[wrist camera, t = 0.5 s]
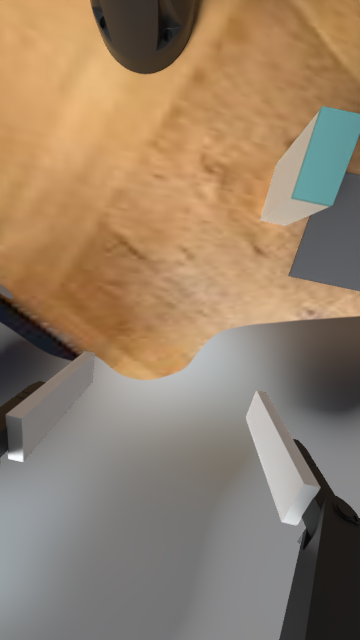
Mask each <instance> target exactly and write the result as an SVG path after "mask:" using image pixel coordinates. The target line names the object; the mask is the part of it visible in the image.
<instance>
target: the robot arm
mask: <svg viewBox="0 0 360 640" xmlns="http://www.w3.org/2000/svg"><path fill="white" fill-rule="evenodd" d="M90 2H91V6H92V10H93V14H94V17H95V20H96V23H97V26H98V28H99V31H100V33H101V36H102V38H103V41H104V43H105V45H106V47H107V49H108V50H109V52H110V53H111V55H112V56H113V57H114V58H115V59H116V60H117V61H118V62H119V63H120V64H121V65H122V66H124V67H125V68H127V69H129V70H131V71H133V72H137V73H144V74H147V73H154V72H157V71H160V70H162V69H164V68H165V67H167V66H168V65H170V64H171V63H172V62H173V61H174V60H175V59H176V58H177V57H178V55H179V54H180V53H181V51H182V50H183V48H184V47H185V45H186V43H187V41H188V38H189V36H190V33H191V30H192V26H193V22H194V17H195V8H196V0H90ZM94 359H95V353H92V352H88V351H85V352H84V353H83V354H81V355H80V356H79V357H78V358H76V359H75V360H74V361H72V362H71V363H70V364H69V365H68V366H66V367H65V368H64V369H62V370H61V371H60V372H59V373H57V374H56V375H55V376H54V377H52V378H51V379H50V380H49V381H47V382H41V381H39V382H37V383H34V384H32V385H30V386H28V387H27V388H26V389H24V390H23V391H22V392H20V393H19V394H17V395H16V396H15V397H14V398H12V399H10V400H9V401H8V402H6V403H5V404H4V405H3V406H1V407H0V457H1V456H2V455H3V454H4V453H5V452H6V451H7V450H8V458H9V459H13V460H17V461H21V462H24V461H25V460H26V458H27V457H28V456H29V455H30V454H31V453H32V451H33V450H34V449H35V448H36V447H37V446H38V445H39V443H40V442H41V441H42V440H43V439H44V438H45V437H46V435H47V434H48V433H49V432H50V431H51V430H52V428H53V427H54V426H55V425H56V424H57V423H58V421H59V420H60V419H61V418H62V417H63V415H64V414H65V413H66V412H67V411H68V410H69V409H70V407H71V406H72V405H73V404H74V403H75V402H76V401H77V399H78V398H79V397H80V396H81V395H82V394H83V393H84V391H85V390H86V389H87V388H88V387H89V385H90V384H91V383H92V380H93V369H94ZM246 420H247V423H248V426H249V429H250V432H251V435H252V438H253V440H254V444H255V446H256V449H257V452H258V455H259V458H260V461H261V464H262V467H263V470H264V472H265V475H266V478H267V481H268V484H269V487H270V490H271V492H272V495H273V498H274V501H275V504H276V507H277V510H278V513H279V516H280V519H281V521H282V522H284V523H288V524H293V525H297V524H298V523H299V521H300V520H301V518H302V519H303V521H304V524H305V526H306V529H305V530H304V532H303V534H302V535H301V537H300V538H299V540H298V543H299V544H300V543H301V545H300V550H299V555H298V559H297V563H296V568H295V573H294V577H293V581H292V586H291V591H290V595H289V599H288V604H287V609H286V613H285V617H284V622H283V626H282V630H281V635H280V639H279V640H360V518H359V517H358V516H357V514H356V512H355V511H354V510H353V509H352V508H351V507H350V506H349V505H348V504H347V503H346V502H345V501H344V500H342V499H341V498H339V497H337V496H335V495H334V493H333V491H332V490H331V488H330V487H329V485H328V483H327V482H326V480H325V478H324V477H323V475H322V473H321V472H320V470H319V469H318V467H316V464H315V462H314V461H313V459H312V458H311V456H310V454H309V452H308V451H307V449H306V448H305V447H304V446H303V445H302V444H301V443H300V442H299V441H298V440H295V439H292V437H291V435H290V433H289V432H288V430H287V428H286V427H285V425H284V423H283V421H282V420H281V418H280V416H279V415H278V413H277V411H276V409H275V407H274V406H273V404H272V402H271V400H270V399H269V397H268V395H267V394H266V392H262V391H256V393H255V395H254V398H253V400H252V403H251V405H250V408H249V410H248V413H247V415H246Z"/></svg>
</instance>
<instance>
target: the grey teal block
mask: <svg viewBox="0 0 360 640" xmlns="http://www.w3.org/2000/svg"><path fill="white" fill-rule="evenodd" d="M359 135H360V114H358V113H353V112H348V111H344V110H339V109H334V108H329V107H324V106H322V108H321V109H320V110H319V111H318V113H317V114H316V115H315V116H314V118H313V119H312V120H311V121H310V123H309V124H308V125H307V126H306V128H305V129H304V130H303V131H302V133H301V134H300V135H299V136H298V138H297V139H296V140H295V141H294V143H293V144H292V145H291V146H290V148H289V149H288V150H287V151H286V152H285V154H284V155H283V156H282V157H281V159H280V160H279V161H278V162H277V164H276V167H275V170H274V174H273V177H272V180H271V184H270V187H269V191H268V194H267V198H266V201H265V204H264V208H263V211H262V215H261V218H260V221H264V222H269V223H274V224H279V225H283V226H287V225H290V224H292V223H294V222H296V221H299V220H301V219H303V218H305V217H308V216H310V215H312V214H314V213H317V212H319V211H321V210H323V209H325V208H328V207H330V206H332V205H333V203H334V200H335V198H336V195H337V193H338V190H339V187H340V185H341V182H342V179H343V177H344V174H345V172H346V169H347V166H348V164H349V161H350V159H351V156H352V153H353V151H354V148H355V146H356V143H357V140H358V138H359Z"/></svg>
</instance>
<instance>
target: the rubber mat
mask: <svg viewBox="0 0 360 640" xmlns="http://www.w3.org/2000/svg"><path fill="white" fill-rule="evenodd" d="M289 276H291V277H295V278H300V279H305V280H309V281H314V282H319V283H324V284H328V285H333V286H338V287H342V288H347V289H352V290H357V291H360V175H357V174H352V173H347V172H345V174H344V177H343V179H342V182H341V185H340V187H339V190H338V193H337V195H336V198H335V200H334V203H333V205H332V206H330V207H328V208H325V209H323V210H321V211H319V212H317V213H314V214H312V215H310V217H309V220H308V223H307V225H306V228H305V231H304V234H303V237H302V239H301V242H300V245H299V248H298V251H297V253H296V256H295V259H294V262H293V265H292V267H291V270H290V273H289Z"/></svg>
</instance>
